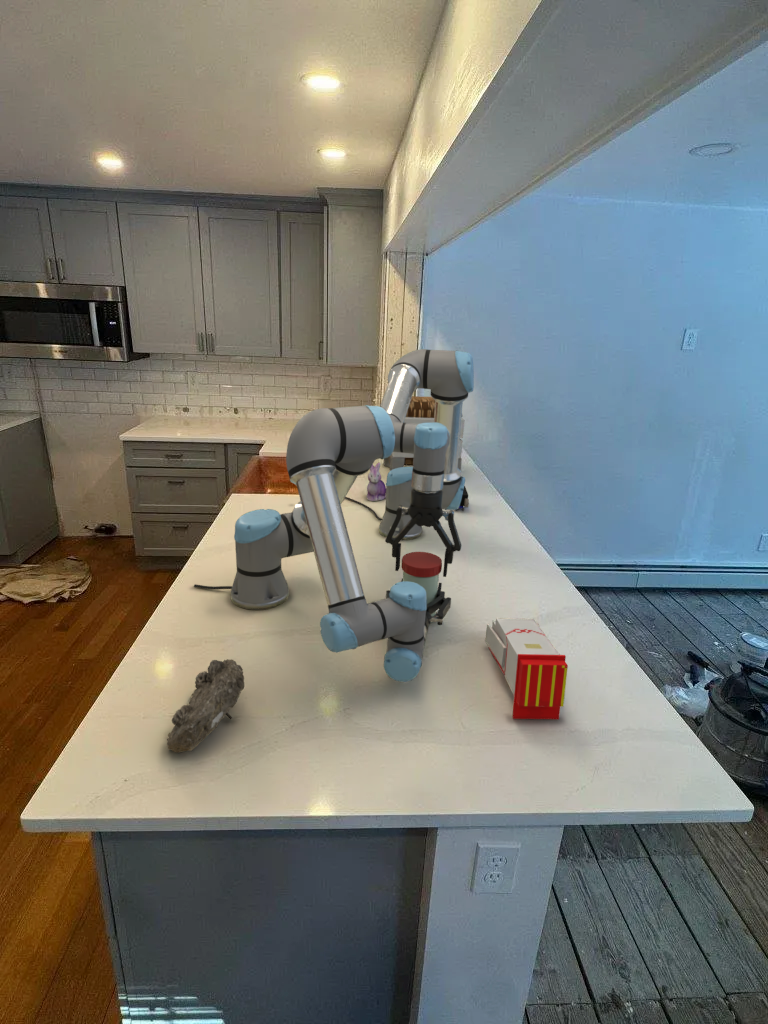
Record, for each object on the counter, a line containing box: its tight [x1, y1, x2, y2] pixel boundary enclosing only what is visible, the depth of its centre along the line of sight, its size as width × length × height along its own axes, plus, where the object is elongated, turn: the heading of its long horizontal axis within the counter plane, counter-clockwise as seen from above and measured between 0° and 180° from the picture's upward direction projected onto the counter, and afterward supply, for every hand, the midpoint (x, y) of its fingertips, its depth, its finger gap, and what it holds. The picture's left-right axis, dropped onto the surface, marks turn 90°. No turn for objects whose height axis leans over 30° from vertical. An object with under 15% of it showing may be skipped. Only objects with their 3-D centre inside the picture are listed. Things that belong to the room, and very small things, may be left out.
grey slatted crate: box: [383, 395, 465, 472], centre depth 268 cm, size 34×33×41 cm
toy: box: [484, 617, 569, 720], centre depth 122 cm, size 12×13×30 cm
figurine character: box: [455, 485, 470, 512], centre depth 229 cm, size 7×8×15 cm
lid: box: [400, 551, 443, 577], centre depth 142 cm, size 10×10×2 cm
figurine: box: [365, 462, 386, 502], centre depth 233 cm, size 9×10×15 cm
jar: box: [402, 570, 440, 624], centre depth 144 cm, size 9×9×16 cm
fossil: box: [166, 658, 245, 754], centre depth 106 cm, size 22×10×15 cm
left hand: (421, 585), depth 149 cm, fingers closed on jar, 9 cm apart
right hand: (421, 571), depth 143 cm, fingers open, 11 cm apart
